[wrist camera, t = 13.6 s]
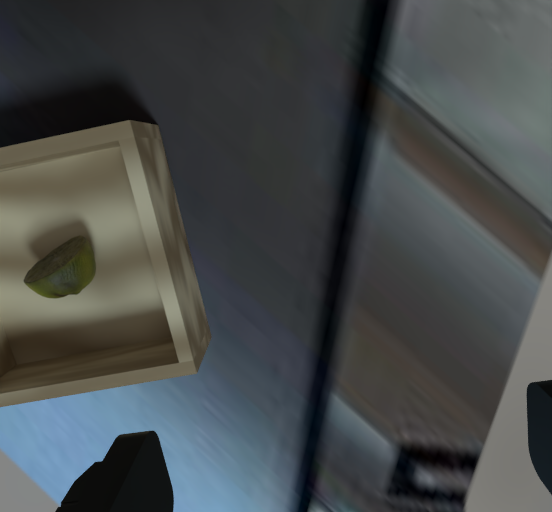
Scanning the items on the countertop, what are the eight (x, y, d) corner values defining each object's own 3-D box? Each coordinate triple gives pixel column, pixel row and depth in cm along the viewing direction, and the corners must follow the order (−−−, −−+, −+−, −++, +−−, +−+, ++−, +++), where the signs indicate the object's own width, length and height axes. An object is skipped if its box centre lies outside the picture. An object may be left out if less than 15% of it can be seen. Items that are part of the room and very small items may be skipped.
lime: (40, 272, 34) (-1, 292, 29) (62, 217, 33) (23, 229, 28) (93, 298, 34) (61, 322, 30) (117, 244, 33) (88, 261, 29)
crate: (-57, 171, 33) (-130, 175, 28) (158, 125, 32) (129, 119, 26) (16, 371, 37) (-34, 412, 31) (211, 337, 36) (196, 373, 30)
